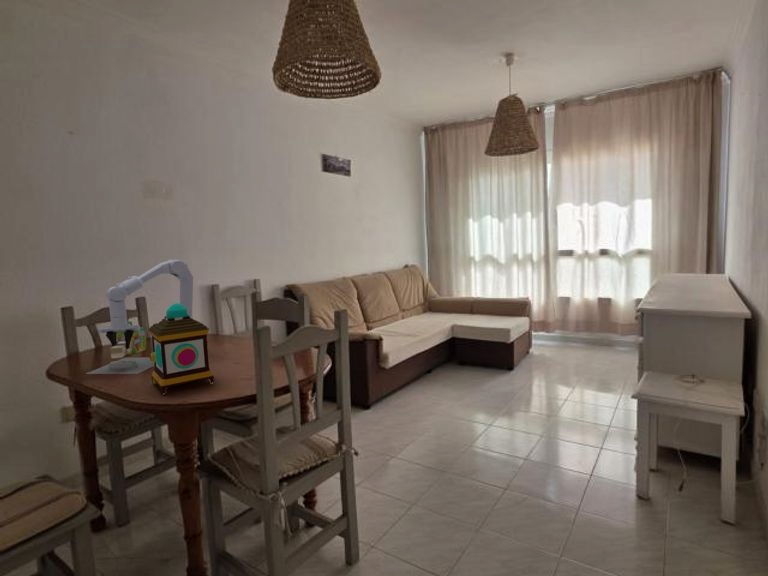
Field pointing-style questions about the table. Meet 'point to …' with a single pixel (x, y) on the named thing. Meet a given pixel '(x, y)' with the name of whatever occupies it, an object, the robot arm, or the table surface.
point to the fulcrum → (123, 365)
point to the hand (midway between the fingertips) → (121, 349)
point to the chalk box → (134, 340)
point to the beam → (120, 350)
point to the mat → (142, 365)
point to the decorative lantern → (179, 349)
